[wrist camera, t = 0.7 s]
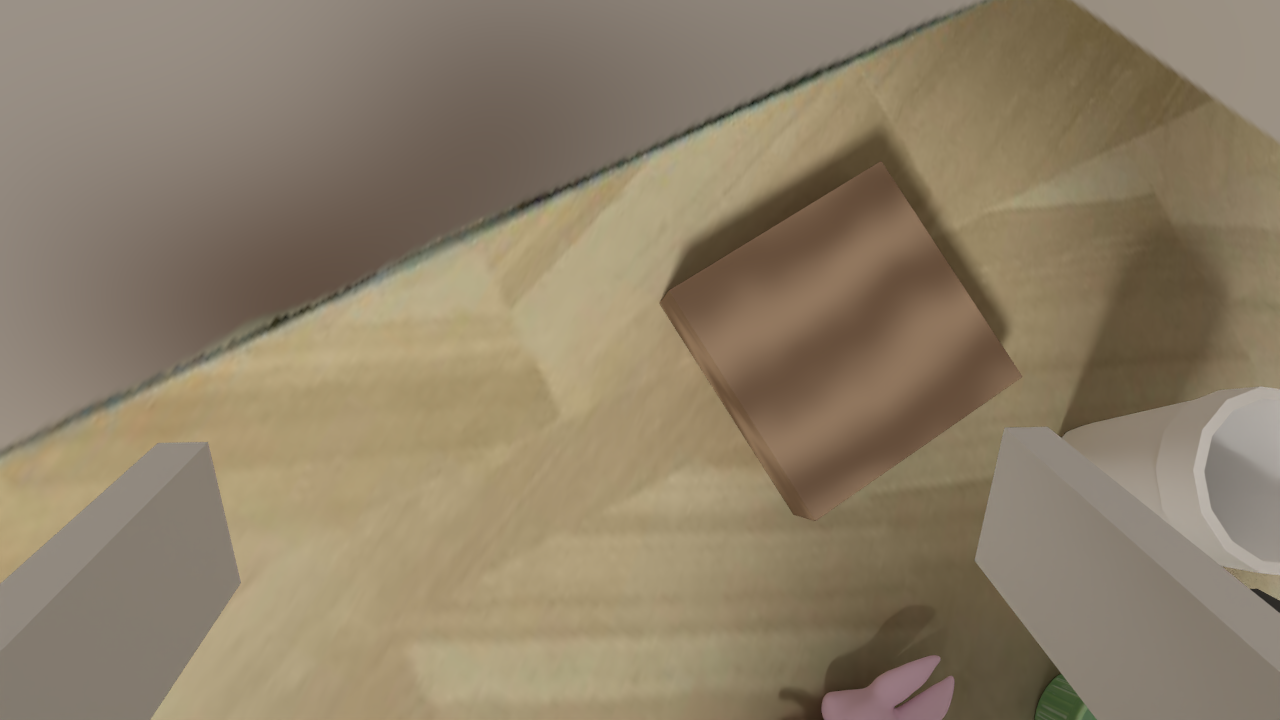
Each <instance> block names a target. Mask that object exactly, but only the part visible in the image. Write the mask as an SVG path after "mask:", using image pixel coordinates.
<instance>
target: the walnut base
mask: <svg viewBox="0 0 1280 720" xmlns="http://www.w3.org/2000/svg"><path fill="white" fill-rule="evenodd" d="M660 305H661V307H662V308H663V310H664V311H665V313H666V315H667V316H668V318H669V319H670V321H671V322H672V324H673V326H674V327H675V329H676V330H677V332H678V333H679V335H680V337H681V338H682V340H683V341H684V343H685V344H686V346H687V348H688V349H689V351H690V352H691V354H692V355H693V357H694V359H695V360H696V362H697V363H698V365H699V366H700V368H701V370H702V371H703V373H704V374H705V376H706V377H707V379H708V381H709V382H710V384H711V385H712V387H713V389H714V390H715V392H716V393H717V395H718V396H719V398H720V400H721V401H722V403H723V404H724V406H725V407H726V409H727V411H728V412H729V414H730V415H731V417H732V418H733V420H734V422H735V423H736V425H737V426H738V428H739V429H740V431H741V433H742V434H743V436H744V437H745V439H746V440H747V442H748V444H749V445H750V447H751V448H752V450H753V451H754V453H755V455H756V456H757V458H758V459H759V461H760V463H761V464H762V466H763V467H764V469H765V470H766V472H767V474H768V475H769V477H770V478H771V480H772V481H773V483H774V485H775V486H776V488H777V489H778V491H779V492H780V494H781V496H782V497H783V499H784V500H785V502H786V503H787V505H788V507H789V508H790V510H791V511H792V513H793V514H794V515H797V516H800V517H804V518H807V519H811V520H814V521H816V520H817V519H819V518H820V517H822V516H823V515H825V514H826V513H828V512H829V511H830V510H832V509H833V508H835V507H836V506H838V505H839V504H840V503H842V502H843V501H845V500H846V499H848V498H849V497H851V496H852V495H853V494H855V493H856V492H858V491H859V490H861V489H862V488H863V487H865V486H866V485H868V484H869V483H871V482H872V481H873V480H875V479H876V478H878V477H879V476H881V475H882V474H884V473H885V472H886V471H888V470H889V469H891V468H892V467H894V466H895V465H896V464H898V463H899V462H901V461H902V460H904V459H905V458H907V457H908V456H909V455H911V454H912V453H914V452H915V451H917V450H918V449H919V448H921V447H922V446H924V445H925V444H927V443H928V442H930V441H931V440H932V439H934V438H935V437H937V436H938V435H940V434H941V433H942V432H944V431H945V430H947V429H948V428H950V427H951V426H952V425H954V424H955V423H957V422H958V421H960V420H961V419H963V418H964V417H965V416H967V415H968V414H970V413H971V412H973V411H974V410H975V409H977V408H978V407H980V406H981V405H983V404H984V403H986V402H987V401H988V400H990V399H991V398H993V397H994V396H996V395H997V394H998V393H1000V392H1001V391H1003V390H1004V389H1006V388H1007V387H1009V386H1010V385H1011V384H1013V383H1014V382H1016V381H1017V380H1019V379H1020V378H1021V377H1022V375H1021V374H1020V372H1019V371H1018V369H1017V368H1016V366H1015V365H1014V363H1013V362H1012V360H1011V359H1010V357H1009V355H1008V354H1007V352H1006V351H1005V349H1004V348H1003V346H1002V345H1001V343H1000V342H999V340H998V339H997V337H996V336H995V334H994V333H993V331H992V330H991V328H990V326H989V325H988V323H987V322H986V320H985V319H984V317H983V316H982V314H981V313H980V311H979V310H978V308H977V307H976V305H975V304H974V302H973V300H972V299H971V297H970V296H969V294H968V293H967V291H966V290H965V288H964V287H963V285H962V284H961V282H960V281H959V279H958V278H957V276H956V274H955V273H954V271H953V270H952V268H951V267H950V265H949V264H948V262H947V261H946V259H945V258H944V256H943V255H942V253H941V252H940V250H939V248H938V247H937V245H936V244H935V242H934V241H933V239H932V238H931V236H930V235H929V233H928V232H927V230H926V229H925V227H924V226H923V224H922V222H921V221H920V219H919V218H918V216H917V215H916V213H915V212H914V210H913V209H912V207H911V206H910V204H909V203H908V201H907V200H906V198H905V196H904V195H903V193H902V192H901V190H900V189H899V187H898V186H897V184H896V183H895V181H894V180H893V178H892V177H891V175H890V174H889V172H888V170H887V169H886V167H885V166H884V164H883V163H882V161H880V162H879V163H877V164H875V165H874V166H872V167H870V168H869V169H867V170H866V171H864V172H862V173H861V174H859V175H857V176H856V177H854V178H852V179H851V180H849V181H847V182H846V183H844V184H843V185H841V186H839V187H838V188H836V189H834V190H833V191H831V192H829V193H828V194H826V195H825V196H823V197H821V198H820V199H818V200H816V201H815V202H813V203H811V204H810V205H808V206H806V207H805V208H803V209H802V210H800V211H798V212H797V213H795V214H793V215H792V216H790V217H788V218H787V219H785V220H784V221H782V222H780V223H779V224H777V225H775V226H774V227H772V228H770V229H769V230H767V231H765V232H764V233H762V234H761V235H759V236H757V237H756V238H754V239H752V240H751V241H749V242H747V243H746V244H744V245H743V246H741V247H739V248H738V249H736V250H734V251H733V252H731V253H729V254H728V255H726V256H725V257H723V258H721V259H720V260H718V261H716V262H715V263H713V264H711V265H710V266H708V267H706V268H705V269H703V270H702V271H700V272H698V273H697V274H695V275H693V276H692V277H690V278H688V279H687V280H685V281H684V282H682V283H680V284H679V285H677V286H675V287H674V288H672V289H670V290H669V291H668V292H667V294H666V295H665V296H664V298H663V299H662V301H661V302H660Z"/></svg>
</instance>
